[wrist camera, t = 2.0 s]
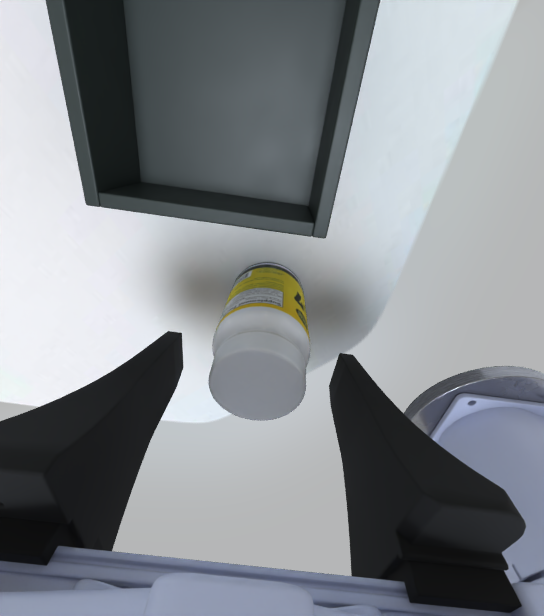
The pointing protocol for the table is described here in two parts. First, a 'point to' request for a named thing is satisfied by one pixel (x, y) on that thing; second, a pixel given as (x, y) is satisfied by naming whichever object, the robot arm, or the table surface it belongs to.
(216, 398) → the supplement bottle
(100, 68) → the storage tray
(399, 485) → the robot arm
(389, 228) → the table surface
